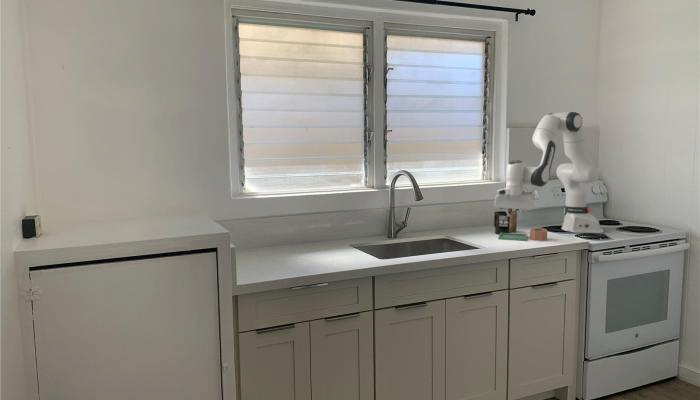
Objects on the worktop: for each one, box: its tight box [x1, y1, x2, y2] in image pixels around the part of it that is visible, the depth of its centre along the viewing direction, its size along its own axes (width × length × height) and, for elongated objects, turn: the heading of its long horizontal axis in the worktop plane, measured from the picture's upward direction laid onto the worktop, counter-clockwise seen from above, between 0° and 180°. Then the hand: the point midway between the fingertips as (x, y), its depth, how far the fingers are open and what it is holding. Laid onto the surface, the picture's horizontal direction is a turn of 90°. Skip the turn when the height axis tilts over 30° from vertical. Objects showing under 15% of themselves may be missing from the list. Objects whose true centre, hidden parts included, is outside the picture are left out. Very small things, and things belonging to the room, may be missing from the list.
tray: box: [497, 232, 528, 242], centre depth 286 cm, size 14×14×2 cm
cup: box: [529, 227, 548, 242], centre depth 281 cm, size 8×8×6 cm
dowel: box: [509, 210, 518, 233], centre depth 285 cm, size 4×4×11 cm
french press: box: [493, 208, 512, 235], centre depth 302 cm, size 12×9×23 cm
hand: (513, 216), depth 285 cm, fingers closed on dowel, 4 cm apart
